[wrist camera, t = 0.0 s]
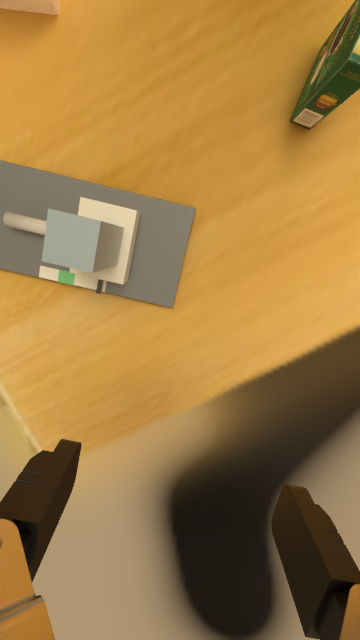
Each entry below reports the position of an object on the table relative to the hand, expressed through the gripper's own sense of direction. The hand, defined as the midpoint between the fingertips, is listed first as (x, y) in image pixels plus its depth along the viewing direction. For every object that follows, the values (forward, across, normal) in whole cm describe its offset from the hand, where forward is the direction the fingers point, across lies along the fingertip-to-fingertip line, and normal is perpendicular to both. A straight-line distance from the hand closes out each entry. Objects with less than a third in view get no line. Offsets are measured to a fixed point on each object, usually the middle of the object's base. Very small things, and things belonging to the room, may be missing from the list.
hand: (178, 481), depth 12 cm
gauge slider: (+27, +14, -6) cm, 31 cm away
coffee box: (+30, -9, -28) cm, 42 cm away
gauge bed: (+29, +16, -7) cm, 34 cm away
